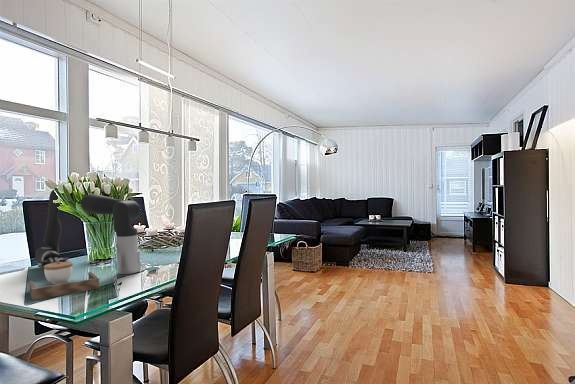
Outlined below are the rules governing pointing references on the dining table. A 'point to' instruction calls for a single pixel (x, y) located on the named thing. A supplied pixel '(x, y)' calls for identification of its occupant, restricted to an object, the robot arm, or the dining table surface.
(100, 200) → the robot arm
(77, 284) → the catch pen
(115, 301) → the dining table surface
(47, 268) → the lidded jar
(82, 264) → the dining table surface
